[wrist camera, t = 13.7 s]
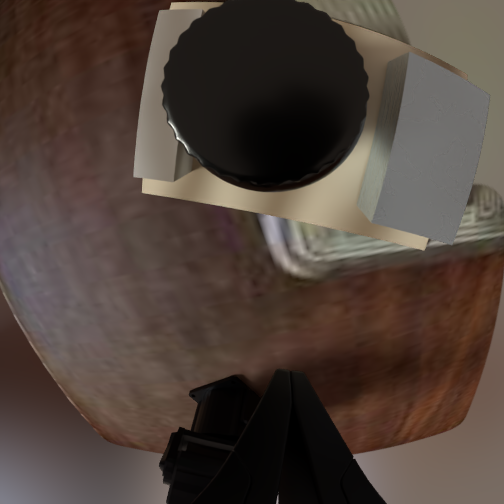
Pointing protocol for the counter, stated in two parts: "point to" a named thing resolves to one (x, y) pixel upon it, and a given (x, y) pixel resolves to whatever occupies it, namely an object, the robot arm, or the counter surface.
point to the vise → (270, 203)
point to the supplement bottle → (266, 93)
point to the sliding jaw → (424, 149)
